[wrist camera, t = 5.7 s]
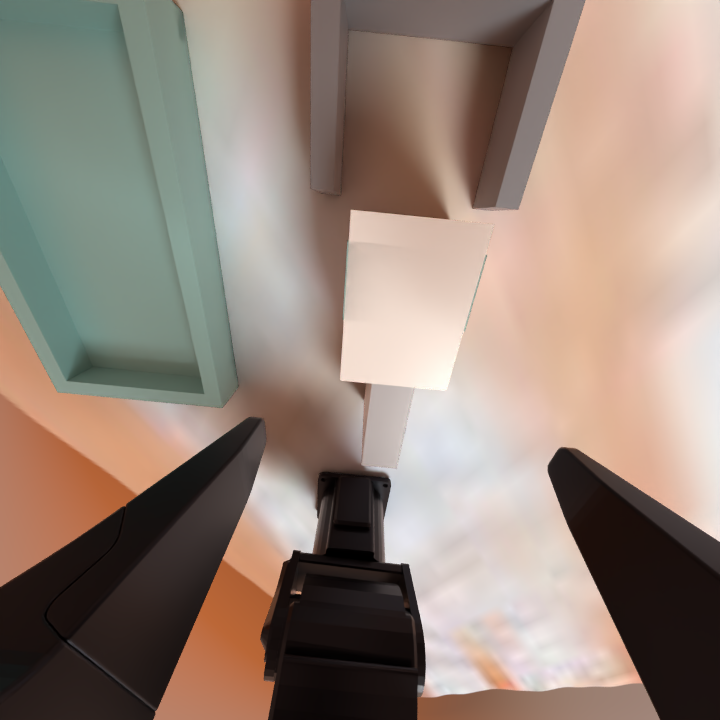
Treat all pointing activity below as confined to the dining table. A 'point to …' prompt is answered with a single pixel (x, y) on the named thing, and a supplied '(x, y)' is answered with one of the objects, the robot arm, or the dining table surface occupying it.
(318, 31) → the bay
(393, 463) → the teal striped block
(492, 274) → the dining table surface
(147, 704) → the robot arm
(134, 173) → the tray
